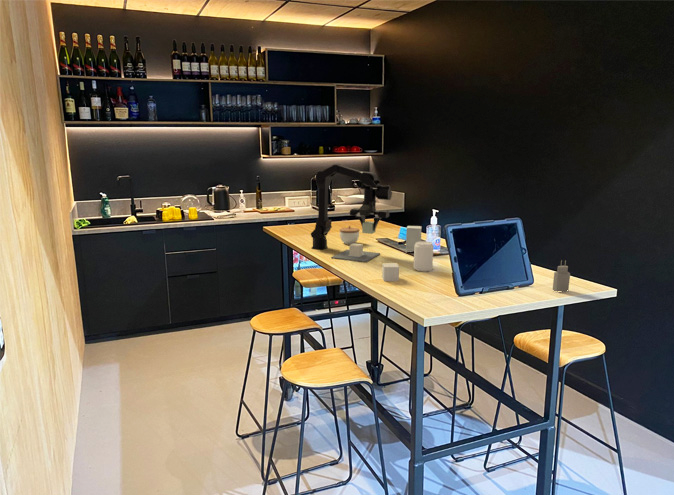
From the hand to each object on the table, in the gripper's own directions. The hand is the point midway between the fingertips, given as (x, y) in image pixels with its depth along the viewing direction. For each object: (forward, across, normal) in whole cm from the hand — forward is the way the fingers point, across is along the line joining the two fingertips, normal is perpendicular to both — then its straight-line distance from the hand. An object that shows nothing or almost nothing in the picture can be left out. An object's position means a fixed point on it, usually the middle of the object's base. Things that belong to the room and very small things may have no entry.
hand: (368, 230), depth 247 cm
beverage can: (+12, +32, -18) cm, 39 cm away
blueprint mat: (+12, -3, -8) cm, 14 cm away
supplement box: (+12, +19, +14) cm, 26 cm away
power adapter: (+11, +88, -27) cm, 92 cm away
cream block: (+11, -3, -8) cm, 14 cm away
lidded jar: (+12, -18, +19) cm, 28 cm away
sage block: (+1, 0, 0) cm, 1 cm away
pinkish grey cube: (+12, +24, -38) cm, 47 cm away
